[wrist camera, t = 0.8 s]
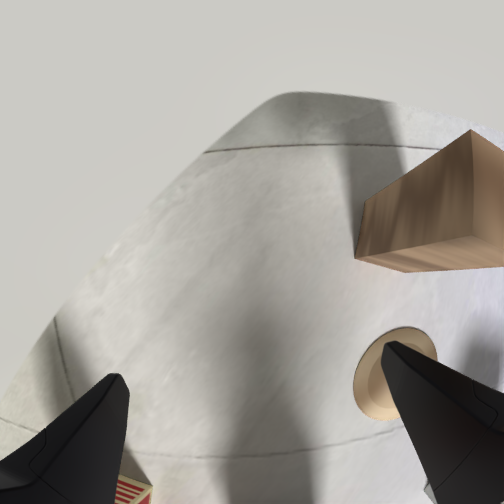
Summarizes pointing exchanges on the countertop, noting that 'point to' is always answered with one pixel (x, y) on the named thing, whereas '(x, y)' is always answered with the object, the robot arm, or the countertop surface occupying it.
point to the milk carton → (132, 491)
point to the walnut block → (440, 212)
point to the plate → (372, 377)
